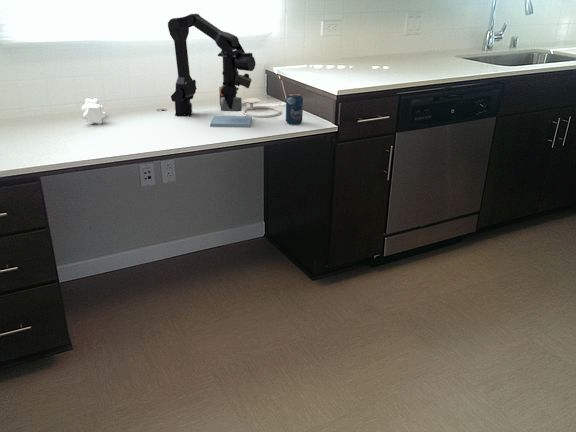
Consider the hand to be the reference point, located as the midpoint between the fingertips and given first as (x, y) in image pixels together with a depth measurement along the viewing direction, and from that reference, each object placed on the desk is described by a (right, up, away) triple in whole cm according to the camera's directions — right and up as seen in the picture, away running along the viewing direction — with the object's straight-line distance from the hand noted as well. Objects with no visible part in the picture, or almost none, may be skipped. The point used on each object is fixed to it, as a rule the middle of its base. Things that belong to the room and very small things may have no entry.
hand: (231, 107), depth 224 cm
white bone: (-57, -5, +3) cm, 57 cm away
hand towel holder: (+11, +1, +20) cm, 23 cm away
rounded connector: (0, -1, +1) cm, 1 cm away
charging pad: (0, -6, +3) cm, 6 cm away
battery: (-4, +5, +27) cm, 28 cm away
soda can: (+26, -6, +4) cm, 27 cm away
